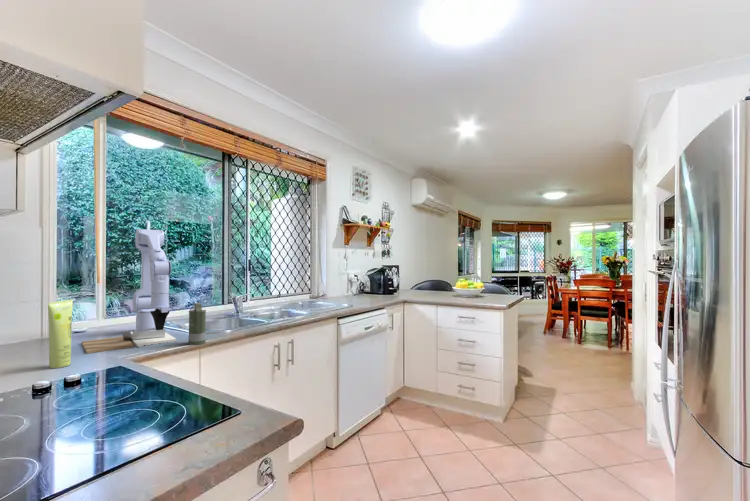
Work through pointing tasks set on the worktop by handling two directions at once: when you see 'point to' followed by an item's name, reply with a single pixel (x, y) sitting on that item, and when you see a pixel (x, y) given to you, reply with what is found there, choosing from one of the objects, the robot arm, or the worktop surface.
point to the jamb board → (106, 344)
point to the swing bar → (143, 334)
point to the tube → (60, 333)
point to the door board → (153, 339)
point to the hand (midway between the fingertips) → (159, 329)
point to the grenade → (197, 325)
